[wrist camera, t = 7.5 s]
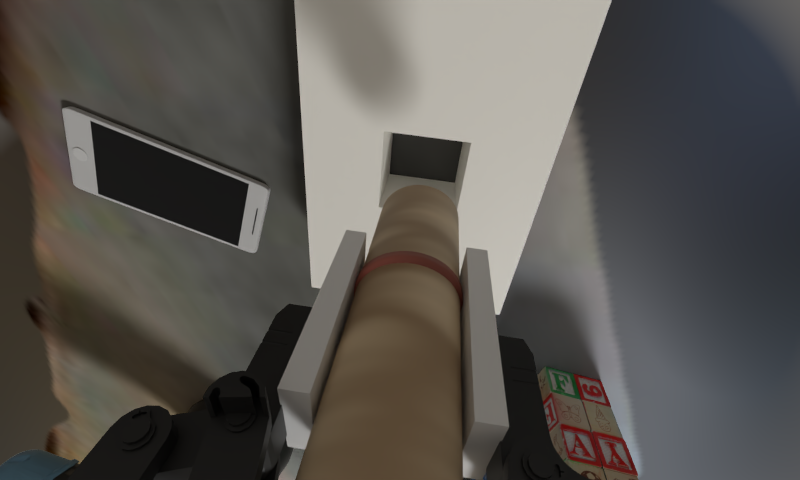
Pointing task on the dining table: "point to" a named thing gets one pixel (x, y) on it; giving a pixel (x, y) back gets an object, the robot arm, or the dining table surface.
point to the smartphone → (164, 181)
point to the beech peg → (398, 354)
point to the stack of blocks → (584, 426)
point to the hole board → (438, 111)
